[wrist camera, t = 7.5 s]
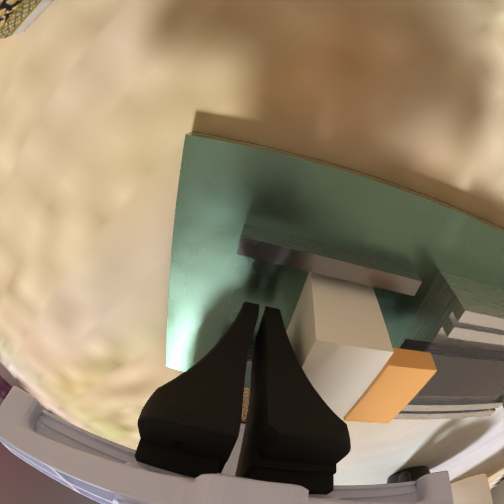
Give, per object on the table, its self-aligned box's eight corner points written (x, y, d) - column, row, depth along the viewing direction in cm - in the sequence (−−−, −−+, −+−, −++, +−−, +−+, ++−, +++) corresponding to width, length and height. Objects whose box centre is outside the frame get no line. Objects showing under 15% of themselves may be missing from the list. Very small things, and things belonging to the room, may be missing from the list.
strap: (523, 389, 14) (528, 401, 13) (369, 385, 14) (372, 403, 13) (558, 346, 12) (565, 358, 11) (412, 323, 12) (420, 343, 11)
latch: (370, 360, 16) (383, 428, 12) (280, 345, 16) (275, 418, 12) (412, 292, 14) (444, 361, 10) (310, 268, 13) (316, 343, 9)
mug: (436, 445, 23) (449, 519, 15) (437, 471, 28) (445, 527, 20) (366, 467, 26) (369, 541, 18) (382, 488, 31) (385, 544, 22)
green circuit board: (488, 398, 19) (502, 435, 15) (169, 357, 19) (148, 411, 15) (580, 271, 12) (610, 305, 8) (191, 131, 12) (147, 152, 8)
